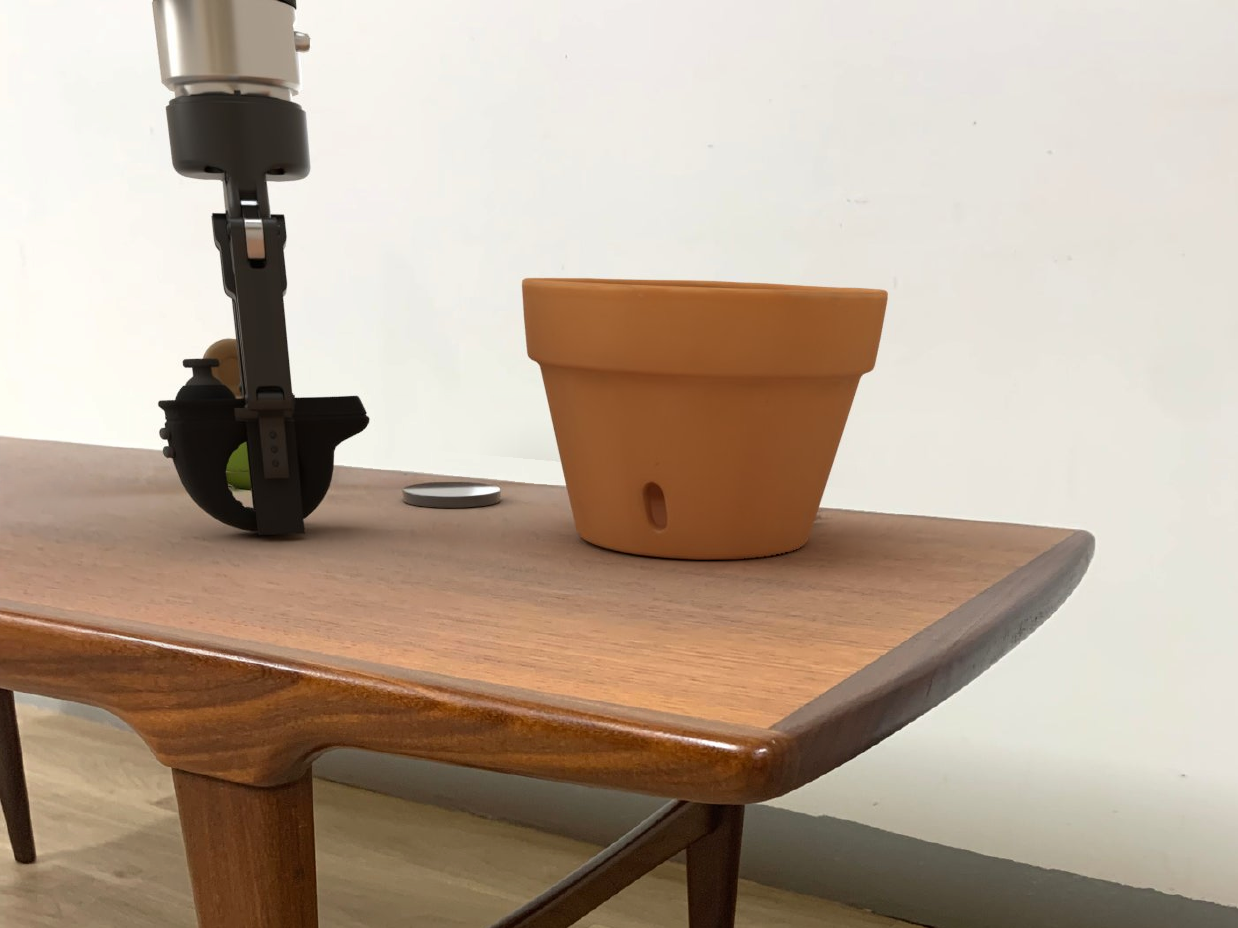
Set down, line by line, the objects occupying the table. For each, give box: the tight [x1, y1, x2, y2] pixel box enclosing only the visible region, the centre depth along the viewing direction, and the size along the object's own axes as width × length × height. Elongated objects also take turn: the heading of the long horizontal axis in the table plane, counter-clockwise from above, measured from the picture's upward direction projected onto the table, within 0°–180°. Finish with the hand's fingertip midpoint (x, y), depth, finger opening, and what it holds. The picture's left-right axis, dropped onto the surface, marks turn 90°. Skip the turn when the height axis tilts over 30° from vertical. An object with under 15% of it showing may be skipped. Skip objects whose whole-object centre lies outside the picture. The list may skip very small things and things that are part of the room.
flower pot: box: [521, 277, 889, 560], centre depth 79 cm, size 21×21×15 cm
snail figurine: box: [202, 337, 251, 490], centre depth 95 cm, size 5×6×12 cm
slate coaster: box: [401, 481, 502, 509], centre depth 94 cm, size 7×7×1 cm
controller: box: [157, 358, 371, 533], centre depth 80 cm, size 4×12×10 cm, turn 119°
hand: (278, 525), depth 82 cm, fingers closed on controller, 5 cm apart
